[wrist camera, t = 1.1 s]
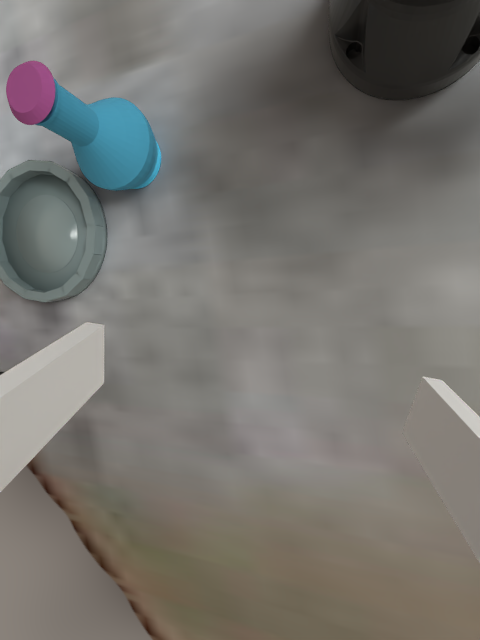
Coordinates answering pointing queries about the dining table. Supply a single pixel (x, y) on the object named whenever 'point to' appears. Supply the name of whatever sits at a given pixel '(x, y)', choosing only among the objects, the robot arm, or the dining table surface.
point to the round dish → (49, 232)
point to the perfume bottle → (88, 128)
